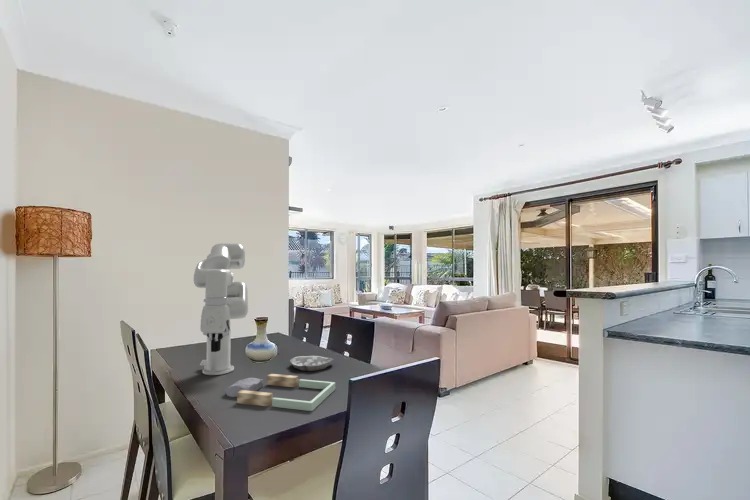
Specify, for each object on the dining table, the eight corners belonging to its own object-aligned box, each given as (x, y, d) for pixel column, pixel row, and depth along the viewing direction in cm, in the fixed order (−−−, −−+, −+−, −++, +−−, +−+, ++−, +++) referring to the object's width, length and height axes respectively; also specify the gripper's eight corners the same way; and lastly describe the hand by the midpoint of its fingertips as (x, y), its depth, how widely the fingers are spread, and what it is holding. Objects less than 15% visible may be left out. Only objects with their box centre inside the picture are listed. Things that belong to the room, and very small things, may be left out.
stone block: (223, 401, 127) (249, 397, 125) (221, 387, 127) (246, 383, 126) (242, 391, 138) (265, 387, 137) (240, 378, 139) (263, 374, 137)
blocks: (237, 402, 121) (237, 392, 121) (270, 382, 141) (270, 373, 141) (268, 406, 118) (268, 395, 118) (298, 385, 138) (298, 376, 138)
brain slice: (282, 372, 155) (282, 365, 155) (297, 361, 172) (297, 355, 172) (326, 374, 152) (326, 367, 152) (336, 363, 169) (337, 356, 169)
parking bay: (272, 406, 118) (272, 398, 118) (300, 385, 137) (300, 379, 137) (312, 411, 114) (312, 403, 114) (335, 389, 133) (335, 382, 133)
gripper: (192, 302, 134) (191, 352, 134) (226, 303, 130) (226, 354, 130) (206, 300, 142) (206, 348, 141) (239, 301, 138) (239, 350, 137)
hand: (215, 351), depth 135 cm, fingers closed
